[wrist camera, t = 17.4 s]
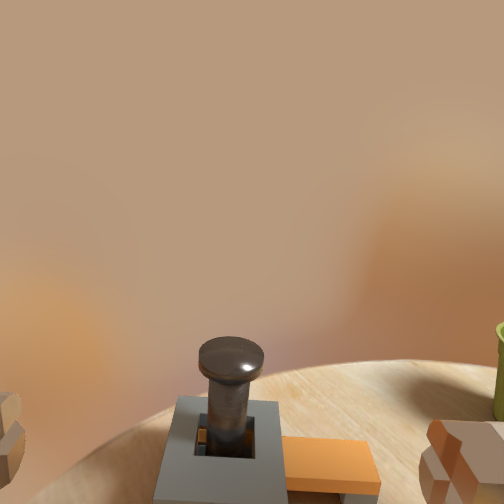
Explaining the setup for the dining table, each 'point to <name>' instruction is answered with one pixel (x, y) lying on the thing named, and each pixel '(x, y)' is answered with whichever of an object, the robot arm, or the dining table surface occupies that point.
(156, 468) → the dining table surface
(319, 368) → the dining table surface
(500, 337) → the plant pot
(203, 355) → the pin
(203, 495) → the bracket
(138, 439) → the dining table surface
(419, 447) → the dining table surface
